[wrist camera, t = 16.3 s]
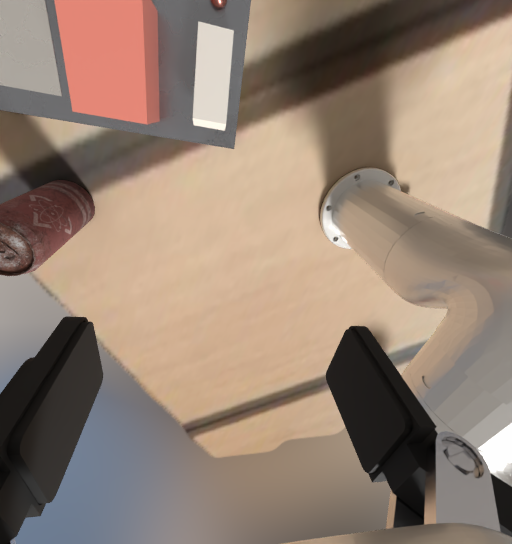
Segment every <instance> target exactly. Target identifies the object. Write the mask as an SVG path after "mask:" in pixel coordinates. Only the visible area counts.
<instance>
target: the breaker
mask: <svg viewBox="0 0 512 544" xmlns="http://www.w3.org/2000/svg"><path fill="white" fill-rule="evenodd" d="M233 34H234V30H230V29H226V28H223V27H219V26H215V25H211V24H207V23H203V22H199V21H198V35H197V52H196V69H195V86H194V103H193V124H194V125H195V126H201V127H206V128H212V129H218V130H223V131H225V128H226V120H227V108H228V96H229V83H230V71H231V59H232V47H233Z"/></svg>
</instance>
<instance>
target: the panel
mask: <svg viewBox="0 0 512 544" xmlns="http://www.w3.org/2000/svg"><path fill="white" fill-rule="evenodd" d="M151 1H152V2H153V4H154V6H155V7H156V9H157V11H158V62H159V116H160V122H155V123H151V124H142V123H136V122H130V121H124V120H119V119H113V118H107V117H101V116H96V115H90V114H84V113H78V112H73V111H72V105H71V99H70V93H69V87H68V81H67V75H66V69H65V62H64V56H63V50H62V44H61V38H60V32H59V26H58V20H57V13H56V7H55V1H54V0H0V110H3V111H9V112H15V113H21V114H27V115H33V116H39V117H45V118H51V119H57V120H63V121H69V122H75V123H81V124H87V125H93V126H99V127H105V128H111V129H117V130H123V131H129V132H135V133H141V134H147V135H153V136H159V137H165V138H171V139H177V140H183V141H189V142H195V143H201V144H207V145H213V146H219V147H225V148H231V149H234V145H235V136H236V127H237V118H238V110H239V101H240V92H241V83H242V74H243V65H244V56H245V48H246V39H247V30H248V21H249V12H250V3H251V0H151ZM198 21H199V22H203V23H207V24H211V25H215V26H219V27H223V28H226V29H230V30H234V34H233V47H232V59H231V71H230V83H229V96H228V108H227V120H226V128H225V131H223V130H218V129H212V128H206V127H201V126H195V125H194V124H193V103H194V86H195V69H196V52H197V35H198Z"/></svg>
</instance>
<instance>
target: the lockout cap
mask: <svg viewBox="0 0 512 544" xmlns="http://www.w3.org/2000/svg"><path fill="white" fill-rule="evenodd" d="M54 1H55V7H56V13H57V20H58V26H59V32H60V38H61V44H62V50H63V56H64V62H65V69H66V75H67V81H68V87H69V93H70V99H71V105H72V111H73V112H78V113H84V114H90V115H96V116H101V117H107V118H113V119H119V120H124V121H130V122H136V123H142V124H151V123H155V122H160V116H159V62H158V11H157V9H156V7H155V6H154V4H153V2H152V1H151V0H54Z"/></svg>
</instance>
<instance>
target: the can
mask: <svg viewBox="0 0 512 544" xmlns="http://www.w3.org/2000/svg"><path fill="white" fill-rule="evenodd" d="M94 213H95V206H94V203H93V200H92V198H91V197H90V195H89V194H88V192H86V191H85V190H84V189H83V188H82V187H81V186H79V185H77V184H75V183H73V182H70V181H66V180H55V181H52V182H49V183H47V184H45V185H42V186H40V187H38V188H36V189H34V190H31V191H29V192H27V193H25V194H22V195H20V196H18V197H16V198H13V199H11V200H9V201H7V202H5V203H2V204H0V275H5V276H17V275H21V274H26V273H29V272H32V271H35V270H36V269H37V268H38V267H39V266H41V265H42V264H43V263H44V262H45V261H46V260H47V259H48V258H49V257H51V256H52V255H53V254H54V253H55V252H56V251H57V250H58V249H59V248H60V247H62V246H63V245H64V244H65V243H66V242H67V241H68V240H69V239H70V238H72V237H73V236H74V235H75V234H76V233H77V232H78V231H79V230H80V229H82V228H83V227H84V226H85V225H86V224H87V223H88V222H89V221H90V220H91V219H92V218H93V216H94Z"/></svg>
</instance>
